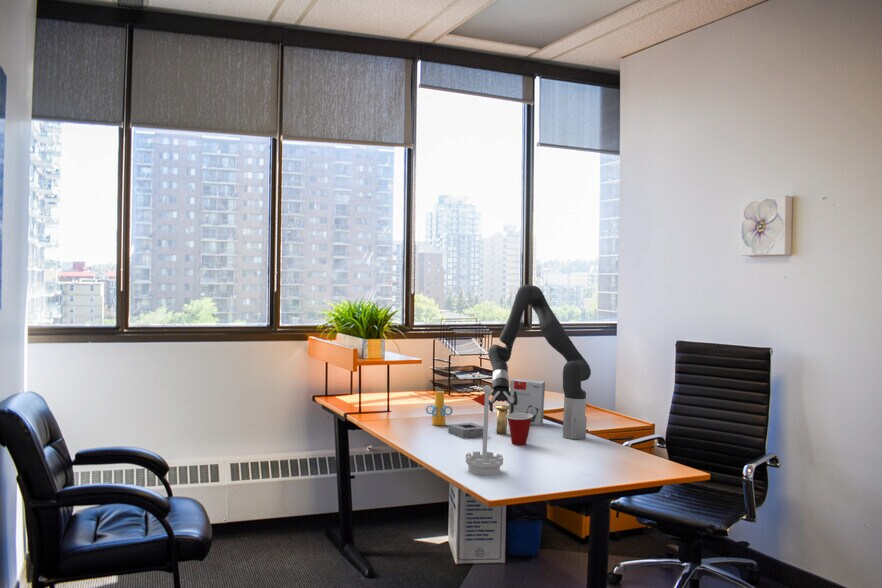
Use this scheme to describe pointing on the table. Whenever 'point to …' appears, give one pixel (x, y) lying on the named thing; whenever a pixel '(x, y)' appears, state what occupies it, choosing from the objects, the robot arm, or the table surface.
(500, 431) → the gold capped peg
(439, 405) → the tube with loops
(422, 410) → the table surface
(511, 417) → the plastic cup
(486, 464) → the flag stand
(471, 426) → the jig
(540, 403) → the hard drive box
